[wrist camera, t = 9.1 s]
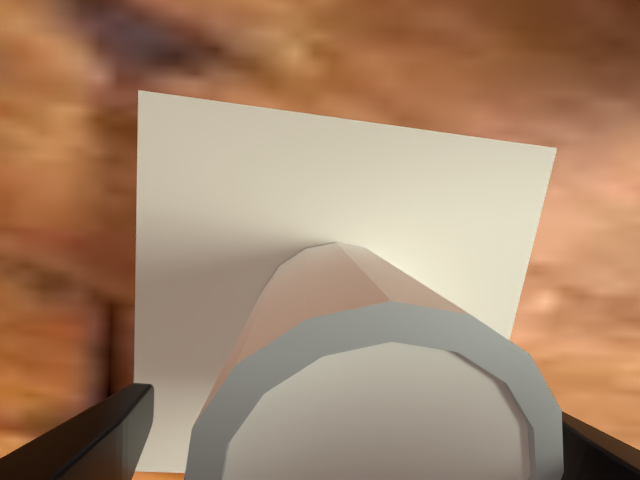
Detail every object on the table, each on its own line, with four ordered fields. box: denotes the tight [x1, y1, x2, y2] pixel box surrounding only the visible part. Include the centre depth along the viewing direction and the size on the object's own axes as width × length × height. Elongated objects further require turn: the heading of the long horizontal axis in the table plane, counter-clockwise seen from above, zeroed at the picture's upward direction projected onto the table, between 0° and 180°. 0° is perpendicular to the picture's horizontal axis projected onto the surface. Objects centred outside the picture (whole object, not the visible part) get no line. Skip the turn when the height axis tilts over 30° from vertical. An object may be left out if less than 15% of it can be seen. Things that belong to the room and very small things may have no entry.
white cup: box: [184, 243, 564, 480], centre depth 9 cm, size 7×7×7 cm
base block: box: [134, 90, 557, 473], centre depth 14 cm, size 14×14×3 cm
